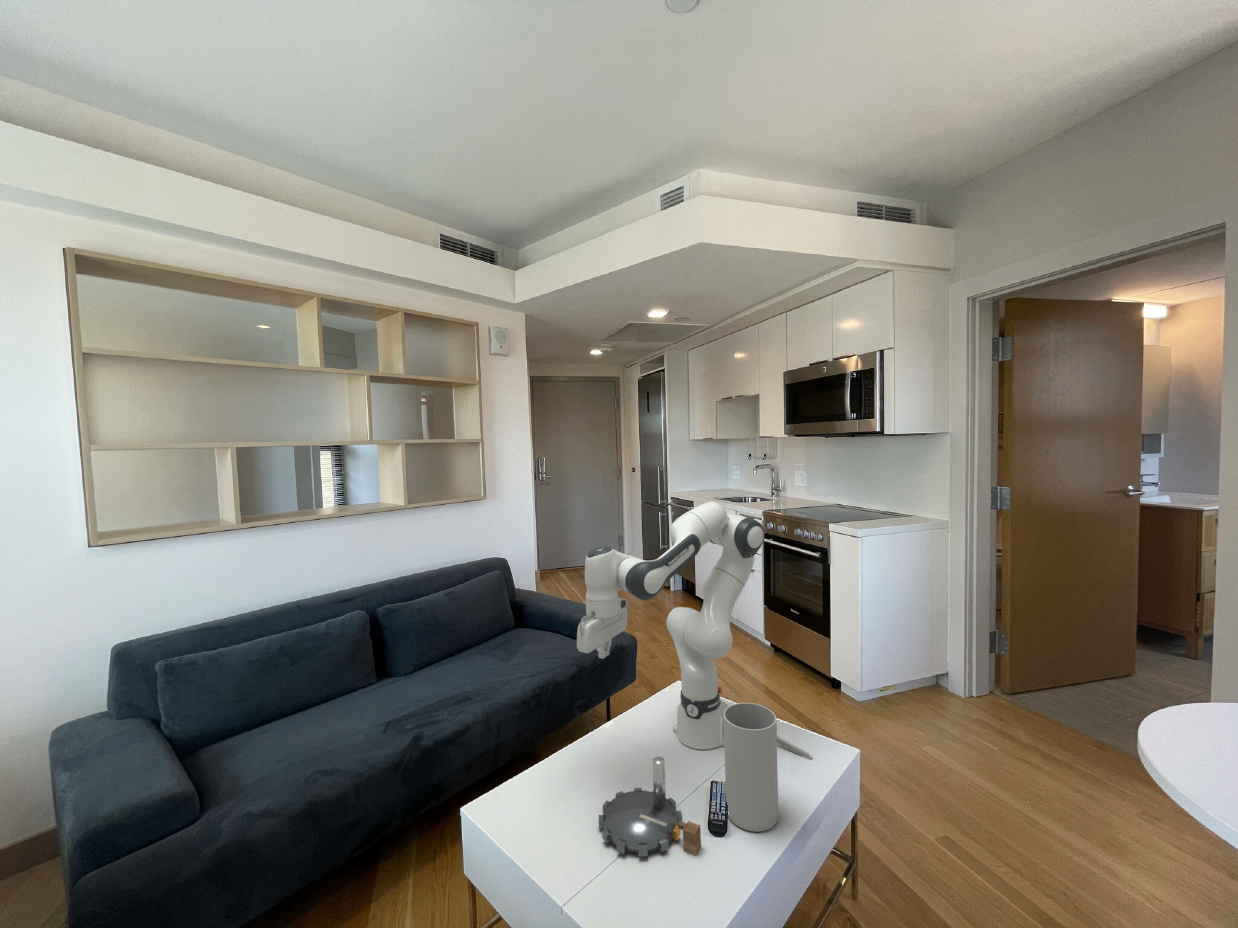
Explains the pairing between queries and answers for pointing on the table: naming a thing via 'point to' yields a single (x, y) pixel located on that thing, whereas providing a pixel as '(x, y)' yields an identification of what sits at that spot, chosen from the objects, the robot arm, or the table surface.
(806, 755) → the caliper
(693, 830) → the brown wooden block
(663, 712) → the table surface
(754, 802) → the cylinder vase
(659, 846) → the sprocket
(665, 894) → the table surface
